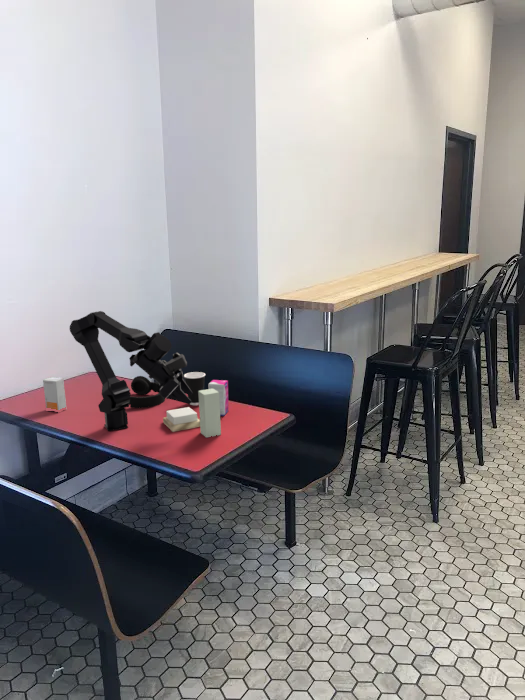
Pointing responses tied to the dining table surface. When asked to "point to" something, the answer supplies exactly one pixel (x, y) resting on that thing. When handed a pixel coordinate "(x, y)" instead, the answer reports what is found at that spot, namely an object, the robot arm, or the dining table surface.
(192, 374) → the dixie cup
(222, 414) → the supplement box
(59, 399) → the skincare box
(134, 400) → the headphones
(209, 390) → the tall block
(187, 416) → the tower top slab
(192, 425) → the tower base slab
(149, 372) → the robot arm
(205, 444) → the dining table surface
